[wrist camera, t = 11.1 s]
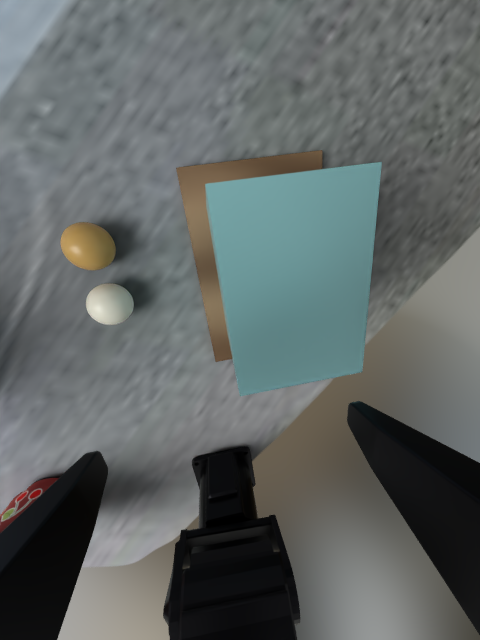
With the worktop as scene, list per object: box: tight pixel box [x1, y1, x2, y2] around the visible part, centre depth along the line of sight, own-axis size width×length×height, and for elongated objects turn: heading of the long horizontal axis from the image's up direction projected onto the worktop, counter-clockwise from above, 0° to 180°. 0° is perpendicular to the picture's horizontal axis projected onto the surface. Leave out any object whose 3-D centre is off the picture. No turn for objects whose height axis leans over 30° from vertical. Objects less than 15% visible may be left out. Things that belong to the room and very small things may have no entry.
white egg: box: [86, 283, 134, 325], centre depth 16 cm, size 3×3×3 cm
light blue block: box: [205, 162, 382, 396], centre depth 14 cm, size 10×7×8 cm
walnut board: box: [176, 150, 322, 362], centre depth 18 cm, size 15×10×1 cm, turn 8°
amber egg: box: [61, 222, 116, 270], centre depth 15 cm, size 3×3×3 cm
